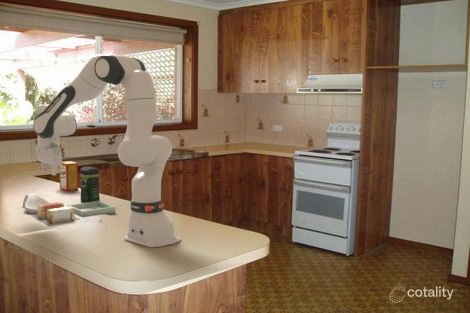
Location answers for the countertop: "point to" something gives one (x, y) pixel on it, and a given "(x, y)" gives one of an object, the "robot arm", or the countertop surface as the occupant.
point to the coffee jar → (89, 184)
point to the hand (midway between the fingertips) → (49, 173)
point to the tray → (96, 205)
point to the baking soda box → (69, 176)
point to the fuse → (48, 207)
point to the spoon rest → (33, 202)
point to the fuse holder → (57, 215)
